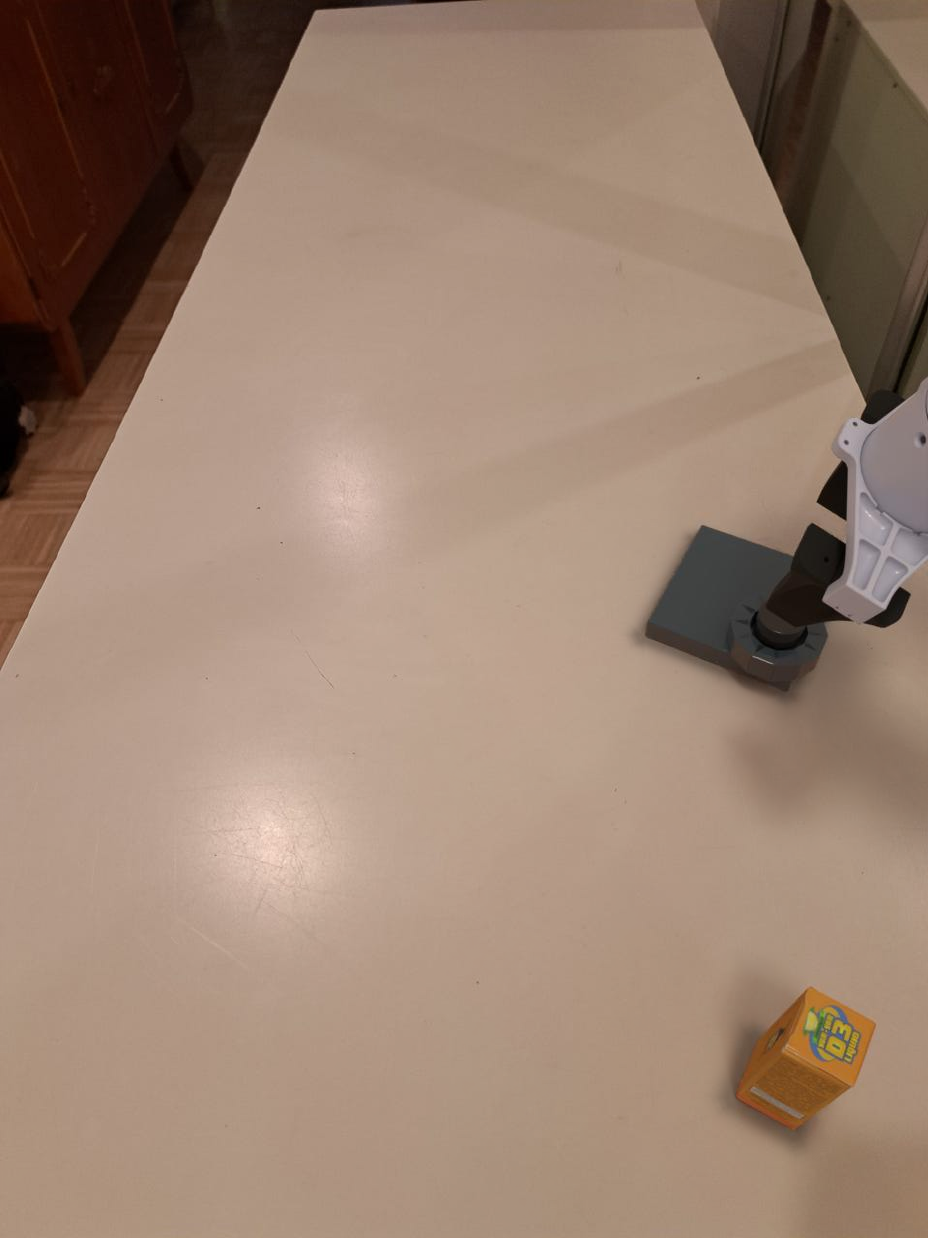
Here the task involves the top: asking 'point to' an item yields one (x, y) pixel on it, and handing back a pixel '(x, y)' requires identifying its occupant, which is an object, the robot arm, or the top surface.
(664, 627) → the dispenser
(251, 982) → the top surface
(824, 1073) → the supplement box
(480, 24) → the top surface
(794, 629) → the dark brown short cylinder
